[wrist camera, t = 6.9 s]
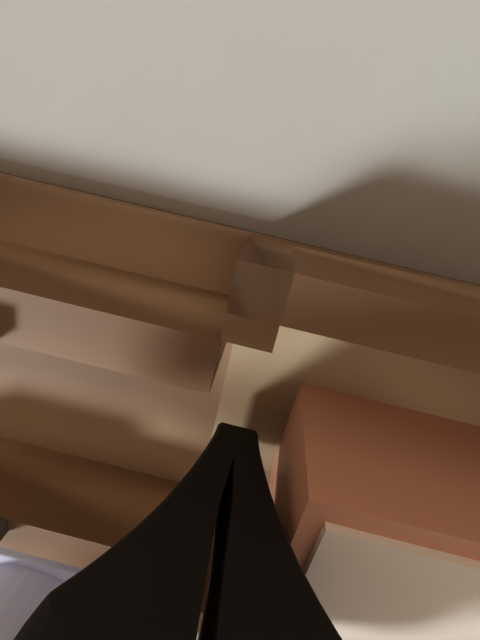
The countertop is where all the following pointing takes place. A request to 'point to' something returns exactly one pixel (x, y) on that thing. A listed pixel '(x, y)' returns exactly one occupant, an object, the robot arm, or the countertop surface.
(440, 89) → the countertop surface
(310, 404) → the block
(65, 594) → the robot arm
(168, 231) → the wooden tray
